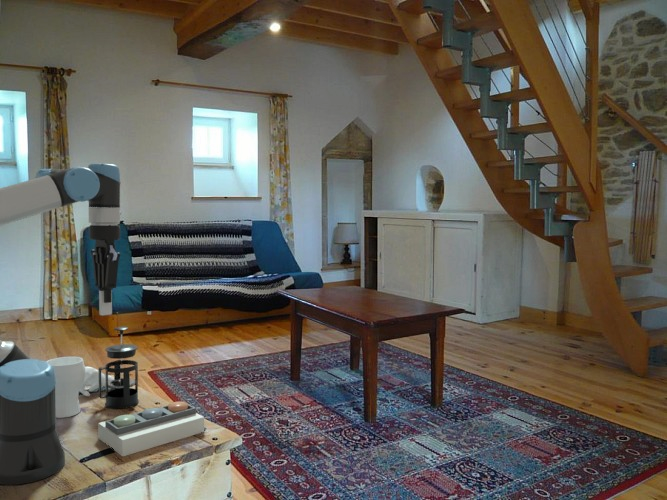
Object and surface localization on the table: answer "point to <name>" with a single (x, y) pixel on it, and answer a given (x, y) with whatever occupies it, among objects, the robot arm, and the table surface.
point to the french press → (122, 391)
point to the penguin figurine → (93, 380)
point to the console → (151, 430)
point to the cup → (67, 384)
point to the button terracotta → (177, 407)
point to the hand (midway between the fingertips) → (105, 314)
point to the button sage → (124, 420)
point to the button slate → (151, 413)
